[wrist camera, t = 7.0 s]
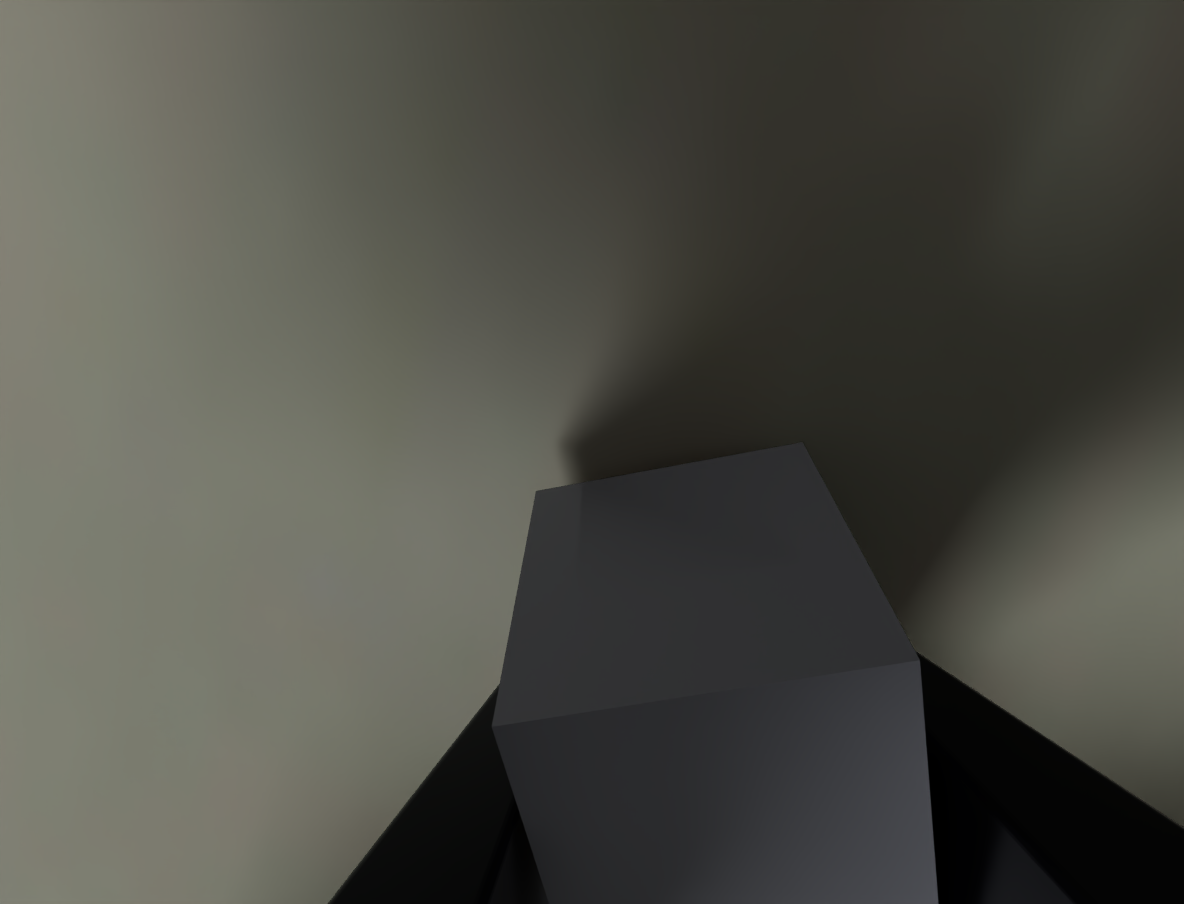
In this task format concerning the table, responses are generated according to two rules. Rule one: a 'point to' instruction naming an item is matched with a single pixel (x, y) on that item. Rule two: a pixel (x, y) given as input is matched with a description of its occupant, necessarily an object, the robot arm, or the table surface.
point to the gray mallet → (713, 696)
